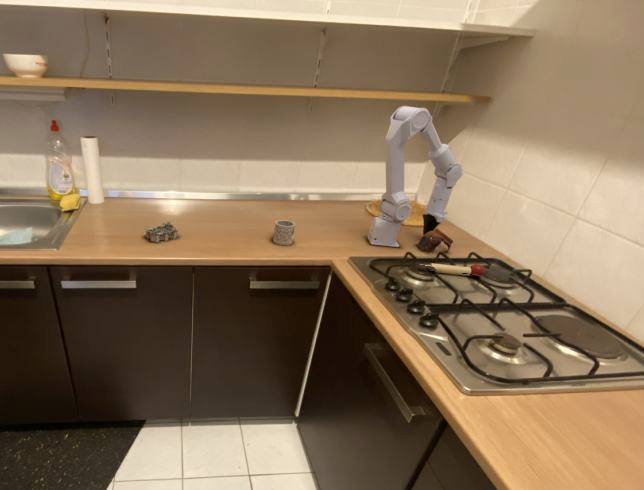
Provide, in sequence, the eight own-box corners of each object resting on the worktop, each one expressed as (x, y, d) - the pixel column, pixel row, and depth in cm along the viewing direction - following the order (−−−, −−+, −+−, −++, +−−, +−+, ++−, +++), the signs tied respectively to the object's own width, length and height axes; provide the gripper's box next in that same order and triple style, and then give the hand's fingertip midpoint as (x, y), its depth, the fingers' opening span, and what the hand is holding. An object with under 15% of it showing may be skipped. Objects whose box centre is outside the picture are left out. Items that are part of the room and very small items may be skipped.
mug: (294, 244, 133) (297, 226, 129) (276, 245, 132) (279, 226, 128) (284, 234, 141) (287, 216, 138) (267, 234, 140) (269, 217, 137)
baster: (419, 273, 117) (424, 263, 115) (417, 265, 120) (422, 255, 117) (482, 280, 115) (489, 270, 112) (478, 271, 118) (485, 262, 115)
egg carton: (170, 231, 139) (170, 220, 137) (180, 238, 134) (180, 227, 132) (143, 236, 134) (143, 224, 132) (152, 243, 129) (152, 231, 127)
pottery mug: (415, 243, 140) (433, 225, 136) (436, 260, 137) (456, 242, 134) (414, 245, 130) (434, 225, 126) (437, 263, 127) (458, 244, 123)
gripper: (459, 205, 126) (445, 243, 133) (444, 193, 138) (431, 229, 145) (437, 203, 127) (423, 241, 134) (423, 192, 139) (412, 227, 146)
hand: (426, 235), depth 139 cm, fingers closed
